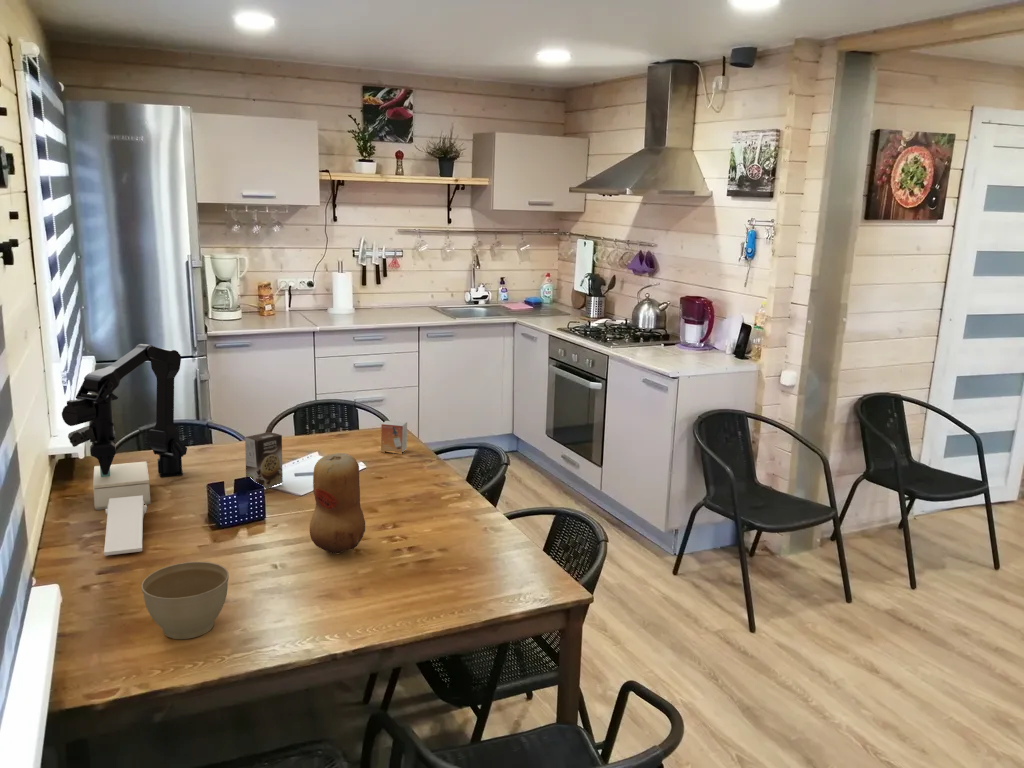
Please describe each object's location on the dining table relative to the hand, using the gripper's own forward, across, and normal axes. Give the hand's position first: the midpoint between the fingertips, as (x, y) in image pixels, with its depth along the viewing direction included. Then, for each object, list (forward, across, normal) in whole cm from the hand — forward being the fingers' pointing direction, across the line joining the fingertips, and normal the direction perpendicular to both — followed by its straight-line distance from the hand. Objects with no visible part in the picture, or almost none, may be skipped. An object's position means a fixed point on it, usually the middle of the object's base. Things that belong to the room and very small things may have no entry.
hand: (105, 470), depth 228 cm
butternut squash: (+8, +59, +52) cm, 79 cm away
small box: (+9, -17, +91) cm, 93 cm away
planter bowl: (+8, +85, +15) cm, 87 cm away
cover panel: (+2, 0, +4) cm, 4 cm away
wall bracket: (+9, +30, +4) cm, 31 cm away
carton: (+8, 0, +4) cm, 9 cm away
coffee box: (+8, +5, +43) cm, 44 cm away
